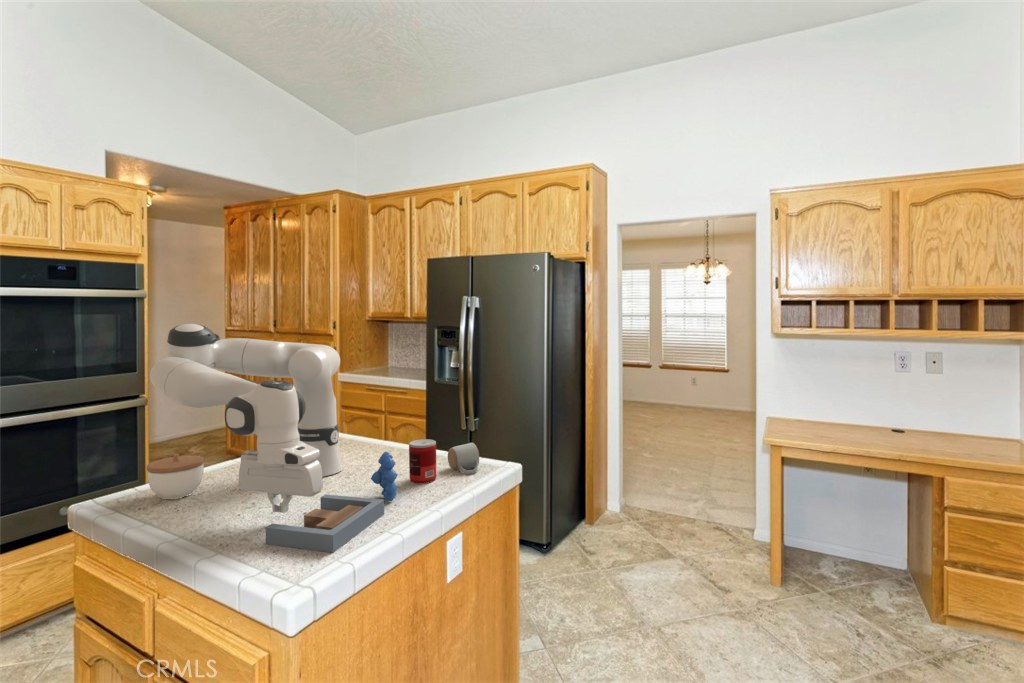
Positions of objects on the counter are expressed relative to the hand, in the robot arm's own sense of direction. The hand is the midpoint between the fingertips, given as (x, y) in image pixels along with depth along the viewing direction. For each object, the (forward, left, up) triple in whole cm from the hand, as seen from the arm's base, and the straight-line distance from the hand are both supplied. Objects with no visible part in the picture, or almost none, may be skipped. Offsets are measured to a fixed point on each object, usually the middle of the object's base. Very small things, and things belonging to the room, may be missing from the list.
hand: (280, 511), depth 111 cm
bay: (+13, 0, -2) cm, 13 cm away
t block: (+12, 0, -3) cm, 13 cm away
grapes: (+16, +19, -3) cm, 25 cm away
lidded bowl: (-40, +9, -3) cm, 41 cm away
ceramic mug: (+28, +48, -3) cm, 55 cm away
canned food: (+19, +36, -3) cm, 41 cm away
